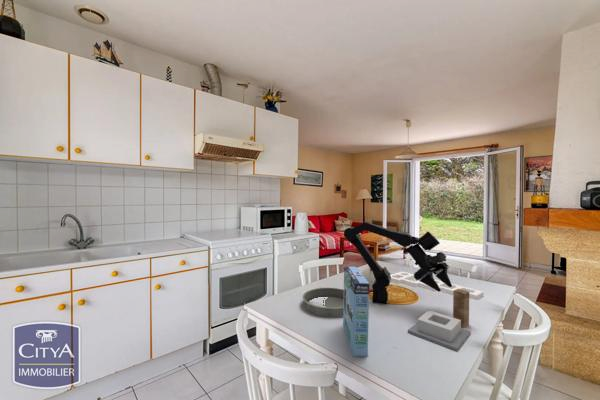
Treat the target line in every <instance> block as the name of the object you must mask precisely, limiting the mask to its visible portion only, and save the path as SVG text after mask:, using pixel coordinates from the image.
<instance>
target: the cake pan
mask: <svg viewBox="0 0 600 400" xmlns="http://www.w3.org/2000/svg"><path fill="white" fill-rule="evenodd" d="M318 297H328V298H327V299H326V300H325V305H324V304H323V305H322V306H319V305H316V304H313V303H312V302H309V301H310V300H312V299H314V298H318ZM324 299H325V298H324ZM302 300H303V302H304V303H305V306H306V309H307V310H309V311H310V313H311V312H312V313H313V314H315V315H318V316H325V317H343V302H344V288H343V289H342V288H337V287H318V288H313V289H310V290H307V291H305V292H304V293H303V294H302ZM323 303H324V300H323Z"/></svg>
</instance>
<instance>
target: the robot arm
mask: <svg viewBox="0 0 600 400" xmlns="http://www.w3.org/2000/svg"><path fill="white" fill-rule="evenodd" d="M365 231H367V232H370V233H373V234H376V235H378V236H382V237H383V238H386V239H390V240H391V241H393V242H394V243H395V244H398V245H399V246H402V247H404V248H403V252H402V253H403V255H408V254H409V255H410V256H411V257H412V259H413V261H414V265H415V266H419V269H418V270H417V271H415V272H414V273H413V274H414V278H415V279H414V280H415V281H418V280H419V281H420V282H423V283H424V284H426V285H428V286H430V287H431V288H433V289H435V290H436V291H435V292H440V291H441V289H440V288H439V286H438V285H437V283H436V282H435V280H436V279H435V280H434V275H435V278H437V280H439V281H442V282H443V283H445V284H446V285H447V286H449V287H452V284H453V283H452V282H451V279H450V277H449V275H448V270H449V265H448V263H447V259H446V258H447V255H446V254H445V253H444V252H442V251H440V252H436V255H434V256H433V255H431V254H427V253H426V252H425V251H429V252H430V251H431V250H433V249H434V248H436V247H437V246H438V245H441V242H440V241H439V240H438V239H437V238H436V237H435V235H433V234H432V233H431V232H430V231H426V232H425V233H424V234H423V235H422V236H420V237H417V236H412V235H411V234H410V233H408V232H404V231H399V230H398V231H396V230H392V229H389V228H386V227H383V226H381V225H378V224H374V223H371V222H370V221H364V222H362V223H361V224H358V225H356V226H350V227H347V228H345V229H344V231H343V236H344V239H346V240H347V241H348V243H350V244H352V245H353V246H354V247H355V249H356V250H357V252H358V253H359V254H360V256H361V257H362V259H363V260H364V261H365V263H366V264H367V267H370V268H371V270H372V272H373V275H374V278H375V281H374V283H373V285H372V288H373V293H372V299H371V301H372V304H379V305H380V304H381V305H382V304H383V305H387V304H388V301H389V291H387V288H388V287H389V286H390V283H391V276H390V275H392V273H391V272H389V270H388V269H387V267H386V266H384V267H382V266H381V265H380V264H379V263H378V262H377V260H376V258H375V257H374V256H373V255H372V253H371V252H370V250H369V249H368V247H367V246H366V244H365V243H364V242H363V240H362V237H361V233H363V232H365ZM420 279H421V280H420Z"/></svg>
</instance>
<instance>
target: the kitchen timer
mask: <svg viewBox="0 0 600 400" xmlns="http://www.w3.org/2000/svg"><path fill="white" fill-rule="evenodd" d="M361 274H362V275H363V276H364V277H365V279H366V280H367V281H368V282H369V292H373V288H372V285H373V283H374V281H375V278H374V275H373V272H372V270H371V268H370V267H369V266H367V267H366V268H364V270H362V272H361Z"/></svg>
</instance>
